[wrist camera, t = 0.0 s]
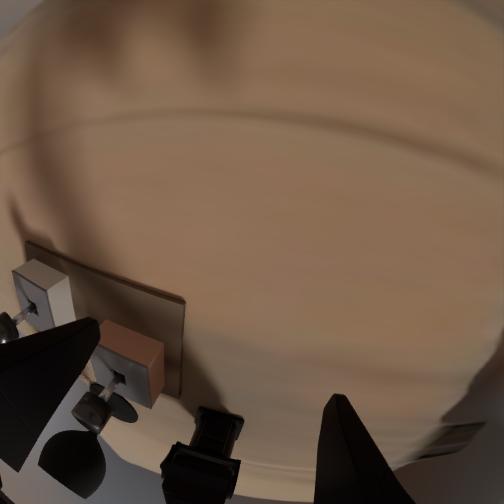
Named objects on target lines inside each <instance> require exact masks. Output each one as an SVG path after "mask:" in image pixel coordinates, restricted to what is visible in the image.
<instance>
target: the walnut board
mask: <svg viewBox="0 0 504 504" xmlns="http://www.w3.org/2000/svg"><path fill="white" fill-rule="evenodd" d="M25 247H26V254H27V260H28V261H30V260H32V259H35V260H37V261H39V262H41V263H43V264H45V265H47V266H49V267H51V268H53V269H55V270H57V271H59V272H61V273H63V274H65V275H68V277H69V284H70V291H71V297H72V302H73V308H74V313H75V318H76V320H79V319H82V318H85V317H92V318H94V319H96V320H98V322H99V326H100V325H101V324H102V323H103V322H104V321H105V320H106V319H107V320H110V321H112V322H114V323H116V324H118V325H121V326H123V327H125V328H128V329H130V330H132V331H135V332H137V333H140V334H142V335H145V336H147V337H150V338H152V339H155V340H157V341H160V342H163V343H164V380H165V386H164V387H163V389H162V391H161V392H162V393H165V394H167V395H170V396H172V397H175V398H178V399H179V397H180V386H181V362H182V345H183V330H184V317H185V305H186V302H183V301H180V300H177V299H174V298H171V297H168V296H165V295H162V294H159V293H156V292H153V291H150V290H148V289H145V288H142V287H139V286H136V285H134V284H131V283H128V282H125V281H123V280H120V279H117V278H115V277H112V276H109V275H107V274H104V273H102V272H99V271H97V270H94V269H92V268H89V267H87V266H84V265H82V264H79V263H77V262H75V261H72V260H70V259H68V258H65V257H63V256H61V255H58V254H56V253H54V252H52V251H49V250H47V249H45V248H43V247H41V246H38V245H36V244H34V243H32V242H30V241H26V242H25Z"/></svg>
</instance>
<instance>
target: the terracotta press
mask: <svg viewBox="0 0 504 504" xmlns="http://www.w3.org/2000/svg"><path fill="white" fill-rule="evenodd" d="M99 327H100V333H101V339H100V341H99V343H98V345H97V347H96V348H95V350H94V352H93V354H92V355H91V357H90V359H91V363H92V366H93V370H94V373H95V377H96V380H97V383H98V384H100V385H102V386H104V387H106V386H107V384H108V383H109V382H110V380H111V379H112V378H113V376H114V375H115V374H116V373H117V372H118V373H120V374H122V375H123V376H124V378H123V379H122V381H121V382H120V383H119V385H118V386H117V387H116V389H115V390H114V392H115V393H117V394H119V395H121V396H123V397H125V398H127V399H129V400H132V401H134V402H136V403H138V404H140V405H142V406H145V407H147V408H149V409H152V407H153V405H154V403H155V401H156V400H157V398H158V396H159V394H160V393H161V391H162V389H163V387H164V386H165V380H164V343H163V342H160V341H157V340H155V339H152V338H150V337H147V336H145V335H142V334H140V333H137V332H135V331H132V330H130V329H128V328H125V327H123V326H121V325H118V324H116V323H114V322H112V321H110V320H107V319H106V320H105V321H104V322H103V323H102V324H101V325H100V326H99Z"/></svg>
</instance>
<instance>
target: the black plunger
mask: <svg viewBox="0 0 504 504" xmlns="http://www.w3.org/2000/svg"><path fill="white" fill-rule="evenodd" d="M36 310H37V307H36V304H35V303H32V304H31V305H29V306H28V307H27V308H25V309H24V310H23V311H21V312H20V313H19V314H17V315H16V316H15V317H14V318H12V319H11V317H10V316H9V315H8V314H7V313H6V312H3V313H1V314H0V344H2V343H6V342H9V341H12V340H16V339H18V338H19V333H18V330H17V327H16V326H17V325H18V324H19V323H20V322H22V321H23V320H24V319H25V318H27V317H28V316H29V315H30V314H32V313H33V312H34V311H36Z"/></svg>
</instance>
